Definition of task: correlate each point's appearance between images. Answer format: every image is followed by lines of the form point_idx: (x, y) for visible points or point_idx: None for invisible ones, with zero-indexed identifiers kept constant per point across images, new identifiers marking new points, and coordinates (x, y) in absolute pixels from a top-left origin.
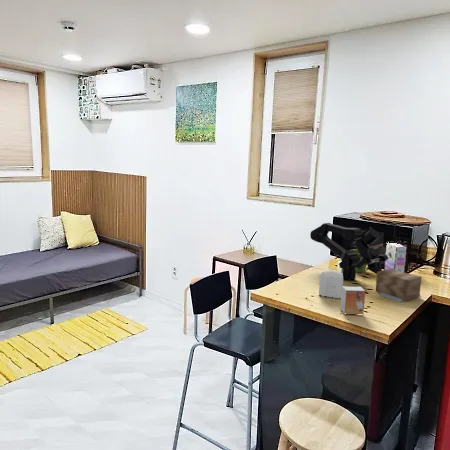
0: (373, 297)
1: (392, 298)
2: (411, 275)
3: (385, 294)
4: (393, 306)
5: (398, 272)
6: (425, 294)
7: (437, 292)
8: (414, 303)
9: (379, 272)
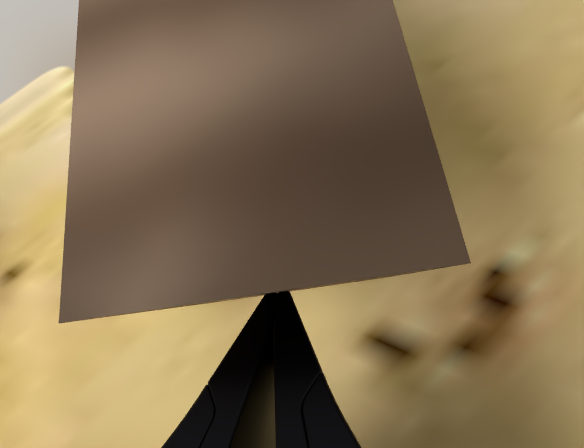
0: (511, 175)
1: None
2: None
3: None
4: (490, 9)
5: (140, 98)
6: None
7: (27, 120)
8: None
9: (451, 209)
